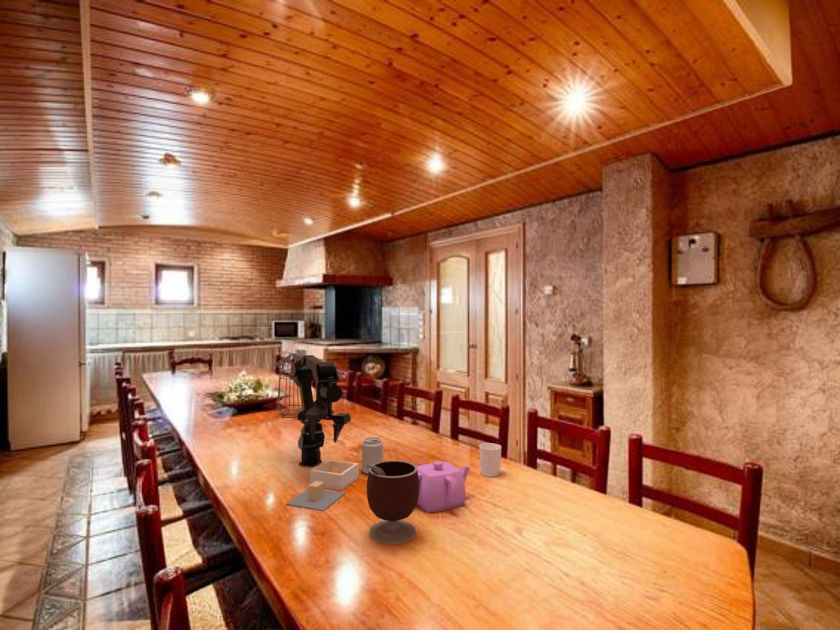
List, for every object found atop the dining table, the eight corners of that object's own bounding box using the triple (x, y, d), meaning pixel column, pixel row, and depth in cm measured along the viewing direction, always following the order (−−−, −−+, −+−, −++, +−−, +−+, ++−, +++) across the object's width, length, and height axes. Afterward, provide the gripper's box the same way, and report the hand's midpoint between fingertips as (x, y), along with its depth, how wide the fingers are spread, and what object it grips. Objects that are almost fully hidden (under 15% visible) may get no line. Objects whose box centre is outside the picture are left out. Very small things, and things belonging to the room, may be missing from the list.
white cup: (503, 471, 165) (503, 444, 165) (497, 479, 158) (498, 450, 157) (482, 468, 168) (483, 441, 168) (476, 475, 161) (476, 447, 161)
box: (310, 485, 150) (310, 470, 150) (328, 473, 162) (328, 459, 162) (341, 490, 146) (341, 475, 146) (358, 477, 158) (358, 463, 158)
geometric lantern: (272, 418, 244) (272, 354, 243) (285, 412, 259) (285, 352, 259) (299, 419, 241) (299, 355, 241) (311, 413, 256) (311, 352, 256)
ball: (326, 480, 153) (326, 468, 153) (332, 476, 157) (332, 465, 157) (337, 482, 152) (337, 470, 152) (342, 477, 155) (342, 466, 155)
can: (379, 476, 159) (379, 442, 159) (358, 474, 161) (359, 441, 161) (384, 469, 167) (385, 436, 167) (365, 467, 168) (365, 435, 168)
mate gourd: (395, 515, 129) (395, 446, 128) (429, 533, 119) (430, 457, 119) (350, 534, 118) (351, 458, 118) (384, 555, 108) (385, 472, 108)
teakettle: (403, 510, 133) (403, 468, 132) (419, 488, 149) (419, 451, 149) (459, 518, 128) (460, 474, 128) (470, 494, 144) (470, 456, 144)
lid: (285, 506, 135) (285, 488, 135) (309, 490, 148) (309, 474, 148) (323, 513, 131) (323, 494, 131) (344, 496, 143) (345, 479, 143)
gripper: (288, 399, 155) (287, 444, 155) (335, 403, 149) (335, 450, 149) (306, 394, 165) (306, 436, 166) (351, 397, 159) (351, 441, 160)
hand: (323, 441), depth 160 cm, fingers open, 9 cm apart
